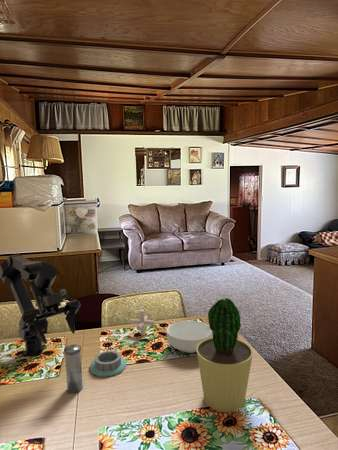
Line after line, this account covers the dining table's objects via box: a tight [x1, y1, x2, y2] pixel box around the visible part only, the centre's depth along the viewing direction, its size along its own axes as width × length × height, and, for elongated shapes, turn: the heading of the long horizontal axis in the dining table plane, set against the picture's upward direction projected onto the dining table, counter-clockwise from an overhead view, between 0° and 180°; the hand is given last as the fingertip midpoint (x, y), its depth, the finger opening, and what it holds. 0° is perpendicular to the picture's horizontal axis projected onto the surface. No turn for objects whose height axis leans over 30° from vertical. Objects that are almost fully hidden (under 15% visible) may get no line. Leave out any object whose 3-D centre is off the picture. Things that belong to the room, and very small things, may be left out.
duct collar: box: [89, 350, 127, 378], centre depth 112 cm, size 12×12×3 cm
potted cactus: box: [196, 297, 254, 413], centre depth 92 cm, size 15×15×30 cm
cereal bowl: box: [165, 320, 213, 354], centre depth 123 cm, size 17×17×7 cm
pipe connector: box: [129, 309, 156, 336], centre depth 134 cm, size 10×10×10 cm
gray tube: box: [63, 343, 83, 395], centre depth 99 cm, size 5×5×13 cm
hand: (60, 338), depth 104 cm, fingers open, 9 cm apart
